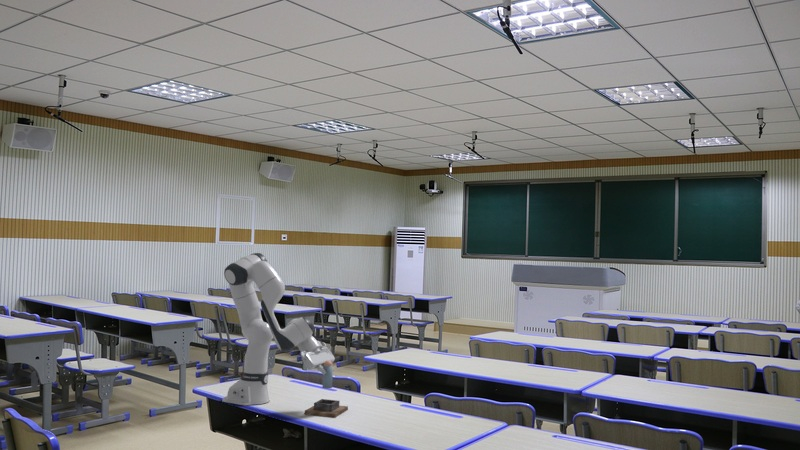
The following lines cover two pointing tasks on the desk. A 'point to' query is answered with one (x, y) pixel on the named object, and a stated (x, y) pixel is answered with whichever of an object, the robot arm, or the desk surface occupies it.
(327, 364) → the peach-tipped grey cylinder
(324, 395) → the desk surface
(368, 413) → the desk surface
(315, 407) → the jig
